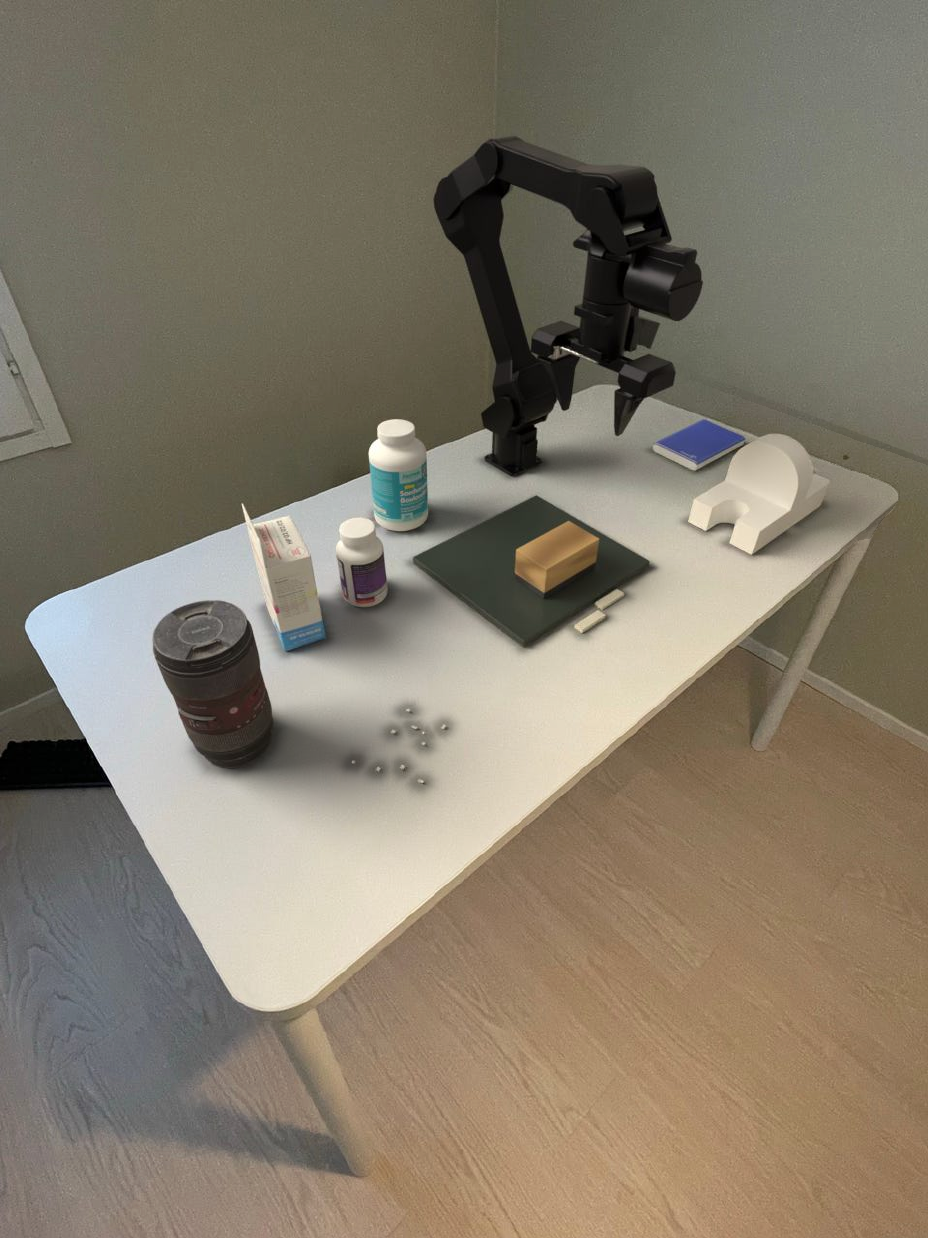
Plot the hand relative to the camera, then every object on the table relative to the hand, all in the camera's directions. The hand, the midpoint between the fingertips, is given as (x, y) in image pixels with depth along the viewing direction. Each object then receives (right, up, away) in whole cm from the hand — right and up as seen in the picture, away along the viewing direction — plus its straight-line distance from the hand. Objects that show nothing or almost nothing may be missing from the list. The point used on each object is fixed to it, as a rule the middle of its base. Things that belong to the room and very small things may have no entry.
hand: (591, 421), depth 92 cm
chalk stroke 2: (+1, -24, -8) cm, 25 cm away
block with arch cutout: (+24, -11, +6) cm, 27 cm away
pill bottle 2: (-25, -12, +5) cm, 28 cm away
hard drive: (+20, +1, +19) cm, 28 cm away
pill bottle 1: (-28, -23, -7) cm, 37 cm away
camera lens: (-39, -38, -23) cm, 59 cm away
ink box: (-36, -26, -11) cm, 46 cm away
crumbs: (-22, -38, -24) cm, 50 cm away
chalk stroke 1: (-2, -26, -11) cm, 28 cm away
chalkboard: (-8, -19, -3) cm, 21 cm away
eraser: (-6, -20, -6) cm, 22 cm away
